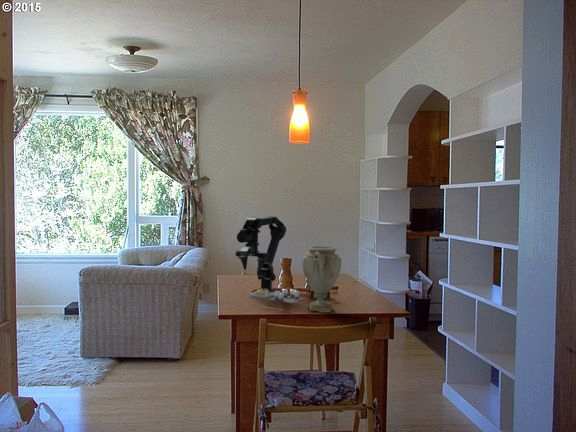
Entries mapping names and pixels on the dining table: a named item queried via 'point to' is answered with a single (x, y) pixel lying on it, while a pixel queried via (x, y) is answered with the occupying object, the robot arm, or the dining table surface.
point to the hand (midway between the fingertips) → (252, 270)
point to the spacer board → (288, 299)
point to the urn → (321, 274)
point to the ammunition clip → (313, 296)
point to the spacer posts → (283, 294)
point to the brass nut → (262, 291)
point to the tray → (261, 295)
